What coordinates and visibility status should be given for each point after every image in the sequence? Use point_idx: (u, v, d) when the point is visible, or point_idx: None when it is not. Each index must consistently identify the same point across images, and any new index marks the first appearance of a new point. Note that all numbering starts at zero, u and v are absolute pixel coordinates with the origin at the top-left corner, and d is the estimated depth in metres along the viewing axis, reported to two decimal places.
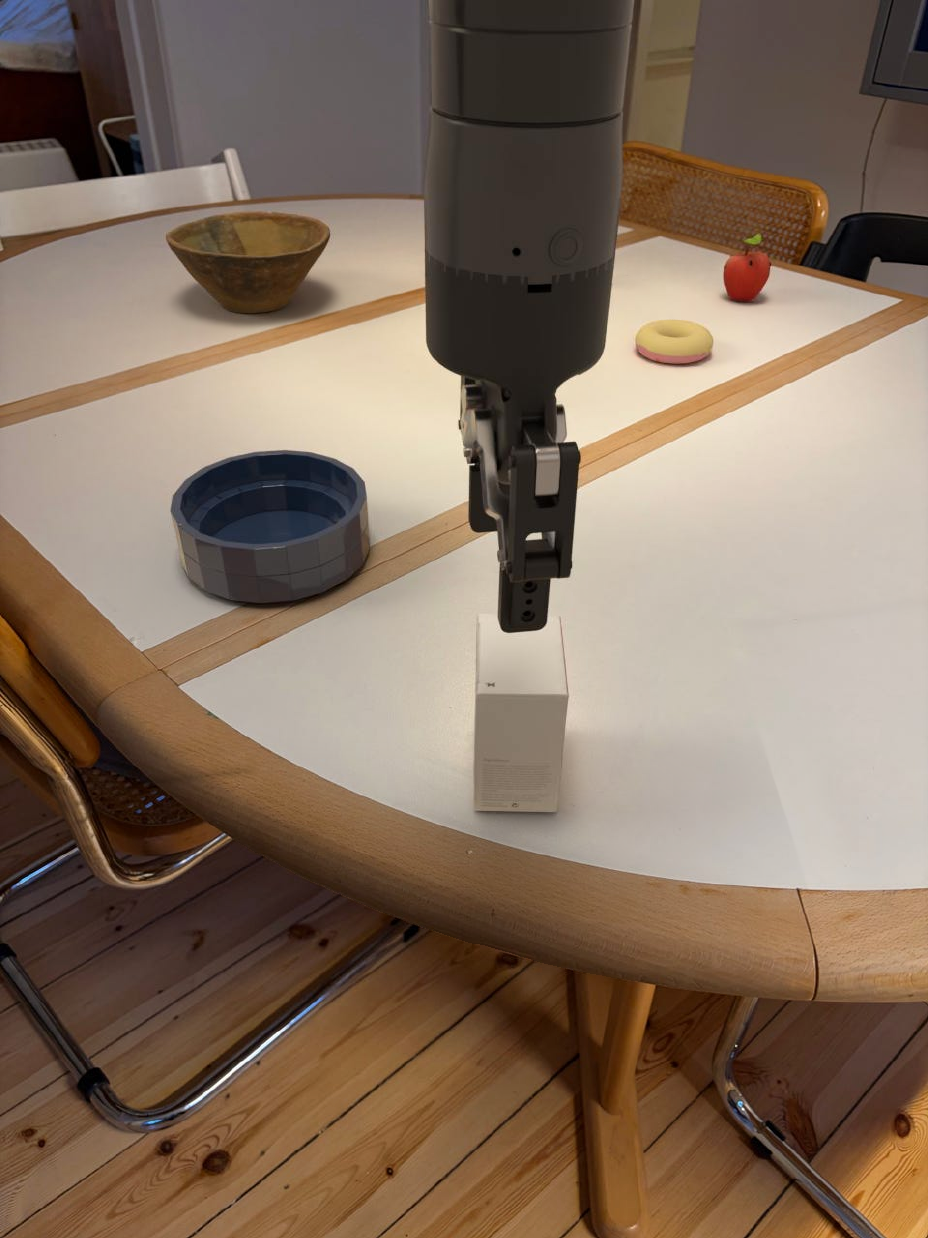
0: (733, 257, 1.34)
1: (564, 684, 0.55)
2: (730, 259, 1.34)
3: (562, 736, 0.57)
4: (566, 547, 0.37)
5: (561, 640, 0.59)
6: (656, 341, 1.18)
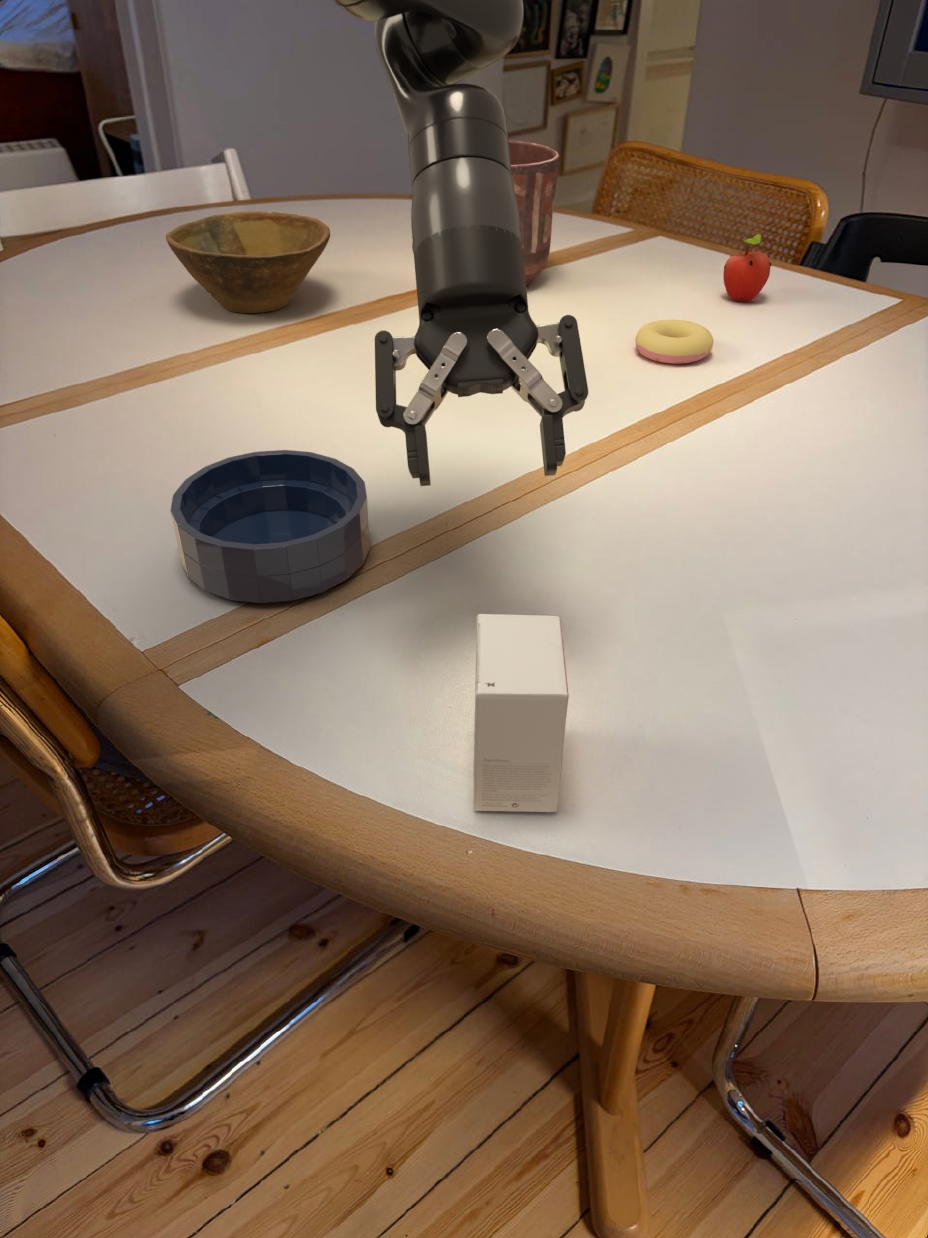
0: (733, 257, 1.34)
1: (564, 684, 0.55)
2: (730, 259, 1.34)
3: (562, 736, 0.57)
4: None
5: (561, 640, 0.59)
6: (656, 341, 1.18)
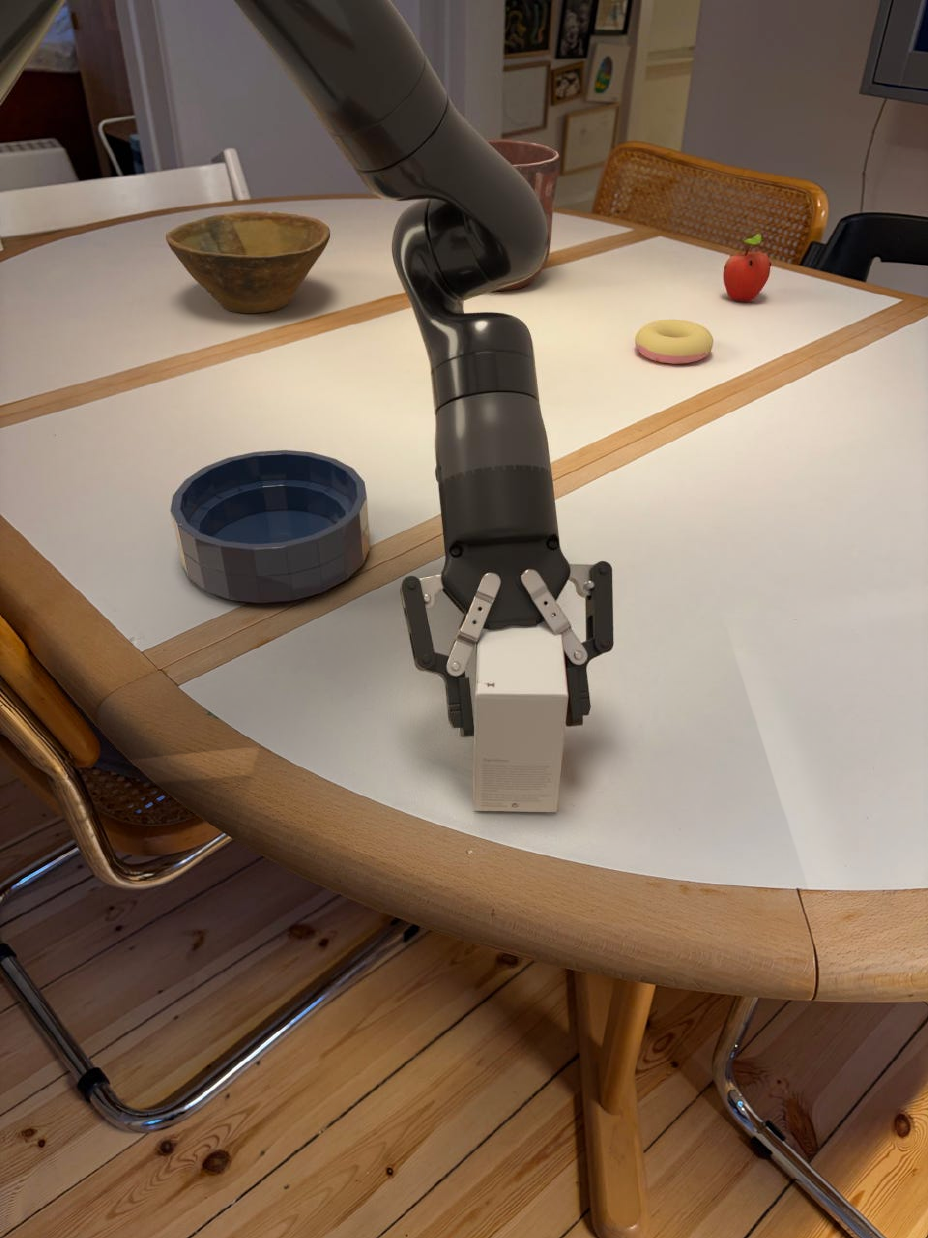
0: (733, 257, 1.34)
1: (564, 684, 0.55)
2: (730, 259, 1.34)
3: (562, 736, 0.57)
4: None
5: (561, 640, 0.59)
6: (656, 341, 1.18)
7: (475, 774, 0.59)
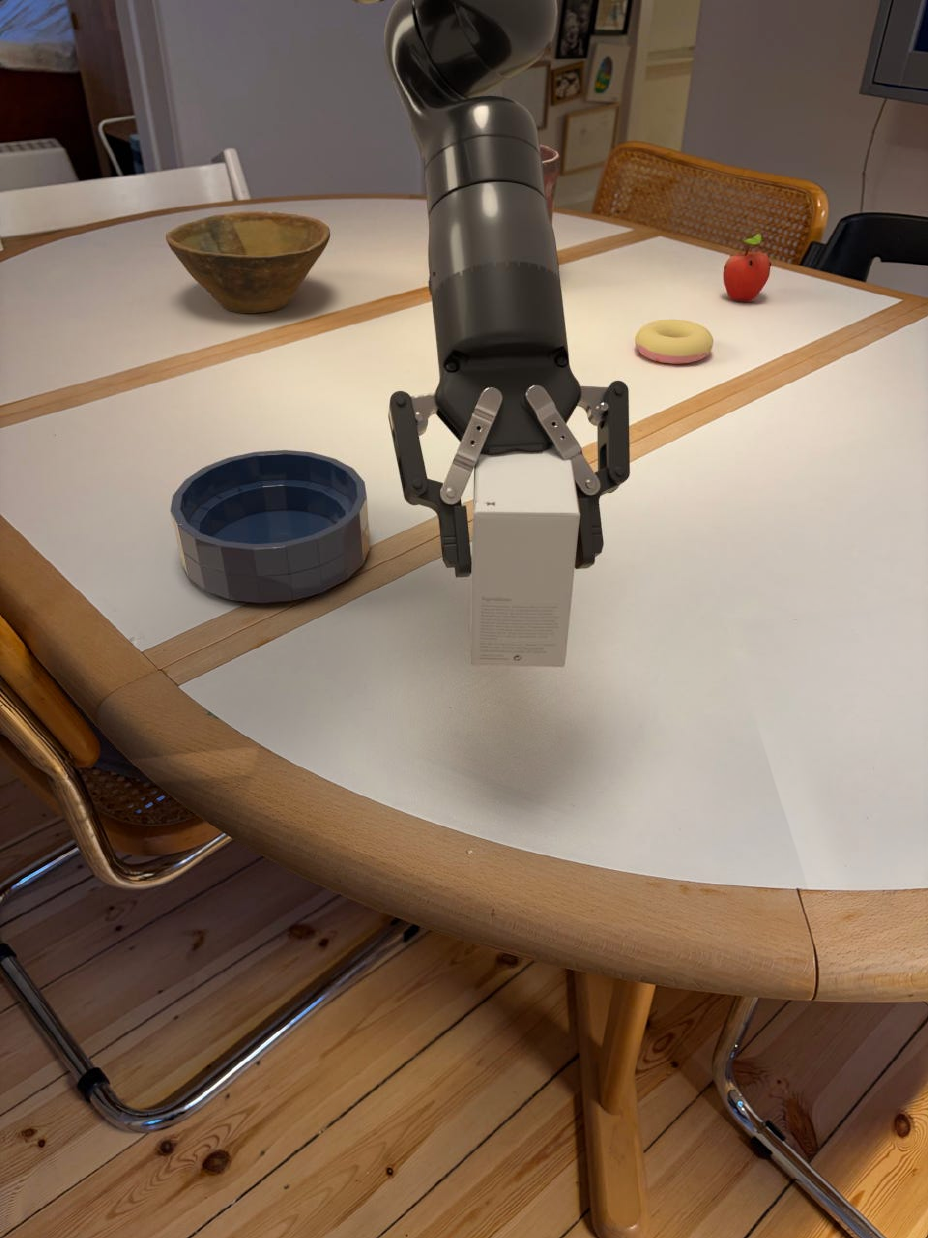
0: (733, 257, 1.34)
1: (575, 503, 0.48)
2: (730, 259, 1.34)
3: (572, 568, 0.50)
4: None
5: (571, 465, 0.52)
6: (656, 341, 1.18)
7: (472, 618, 0.52)
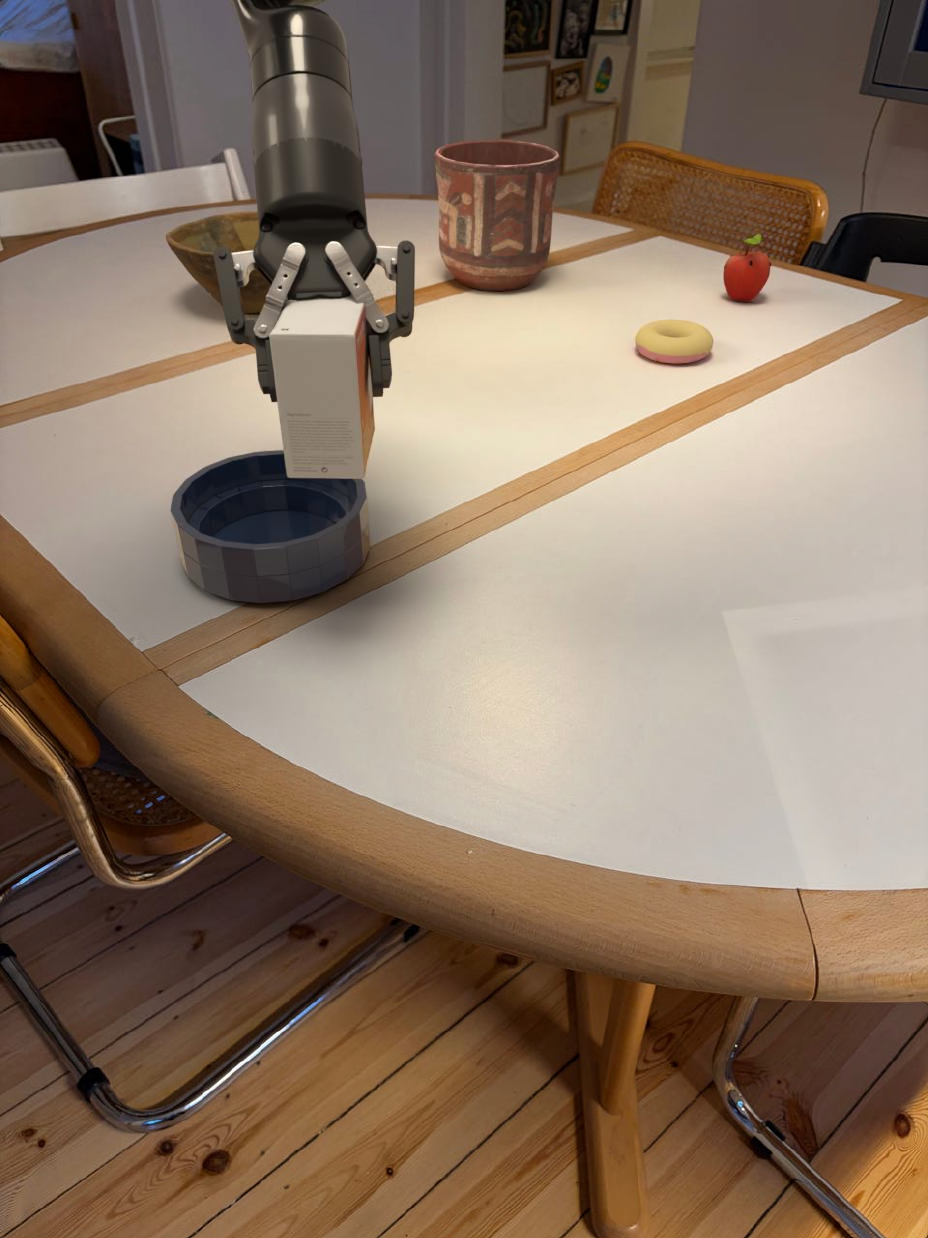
0: (733, 257, 1.34)
1: (353, 329, 0.60)
2: (730, 259, 1.34)
3: (356, 385, 0.61)
4: None
5: (362, 306, 0.63)
6: (656, 341, 1.18)
7: (282, 432, 0.63)
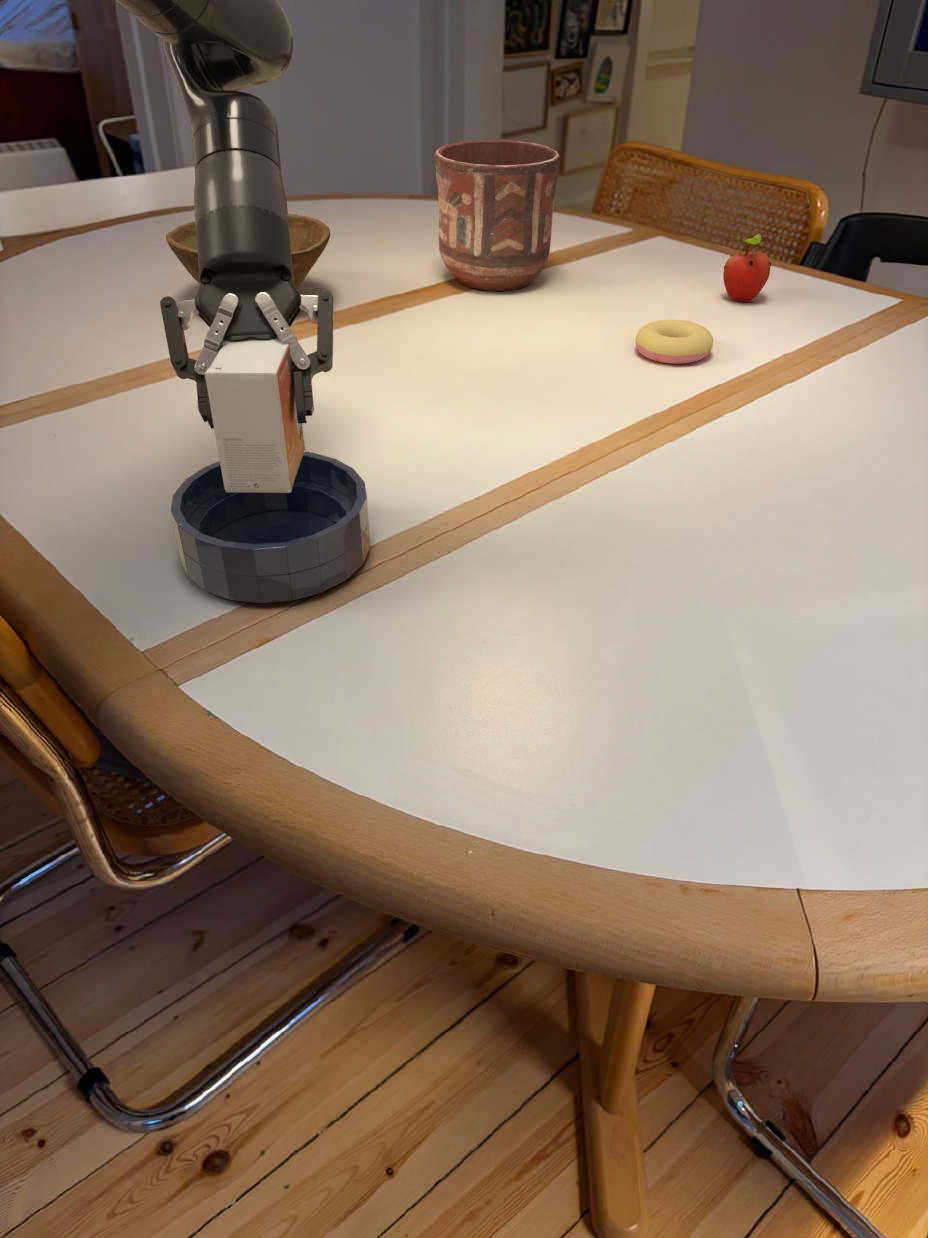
0: (733, 257, 1.34)
1: (276, 368, 0.71)
2: (730, 259, 1.34)
3: (280, 414, 0.72)
4: (332, 351, 0.77)
5: (286, 347, 0.74)
6: (656, 341, 1.18)
7: (219, 454, 0.74)
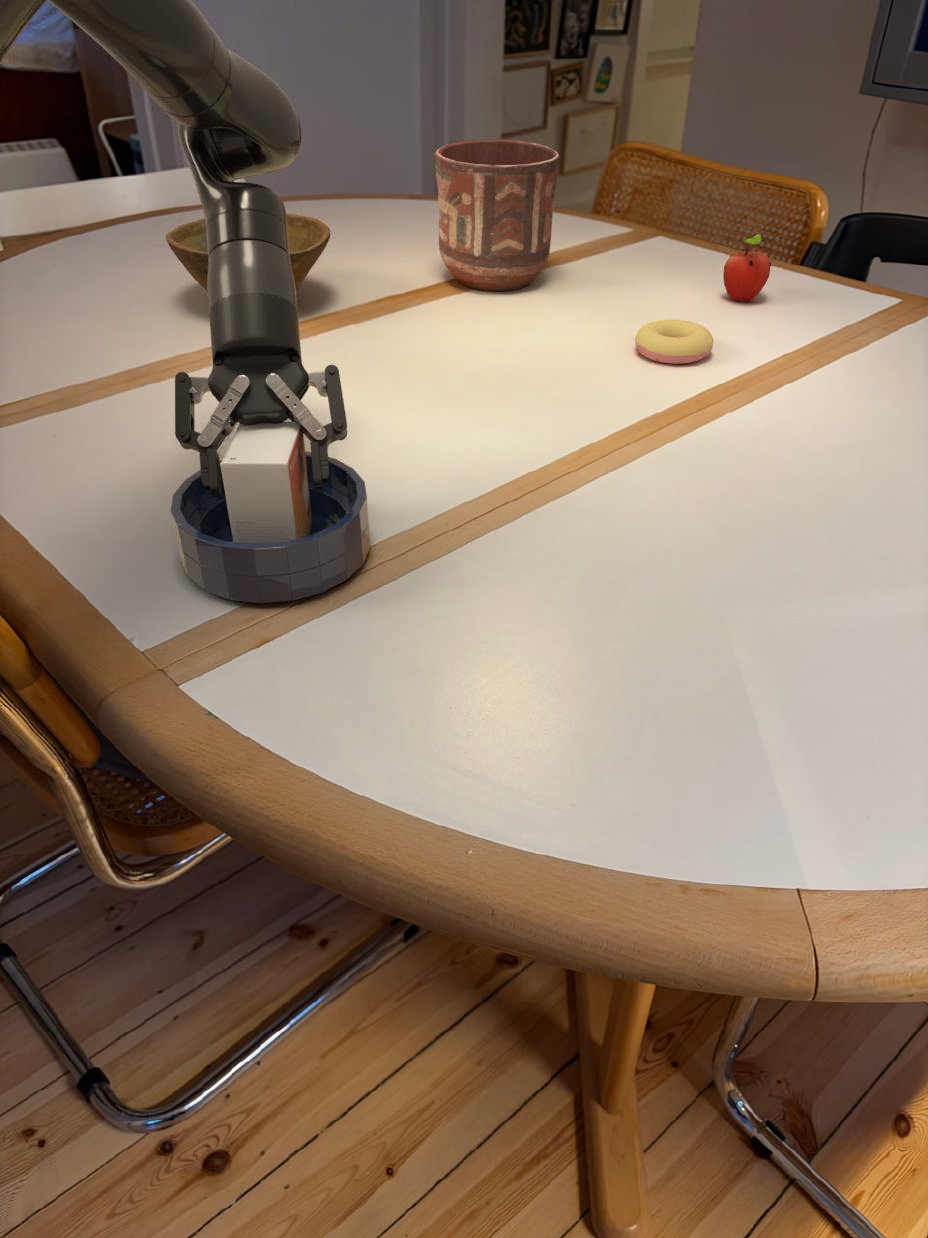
0: (733, 257, 1.34)
1: (287, 458, 0.76)
2: (730, 259, 1.34)
3: (290, 500, 0.77)
4: None
5: (296, 435, 0.79)
6: (656, 341, 1.18)
7: (233, 535, 0.79)
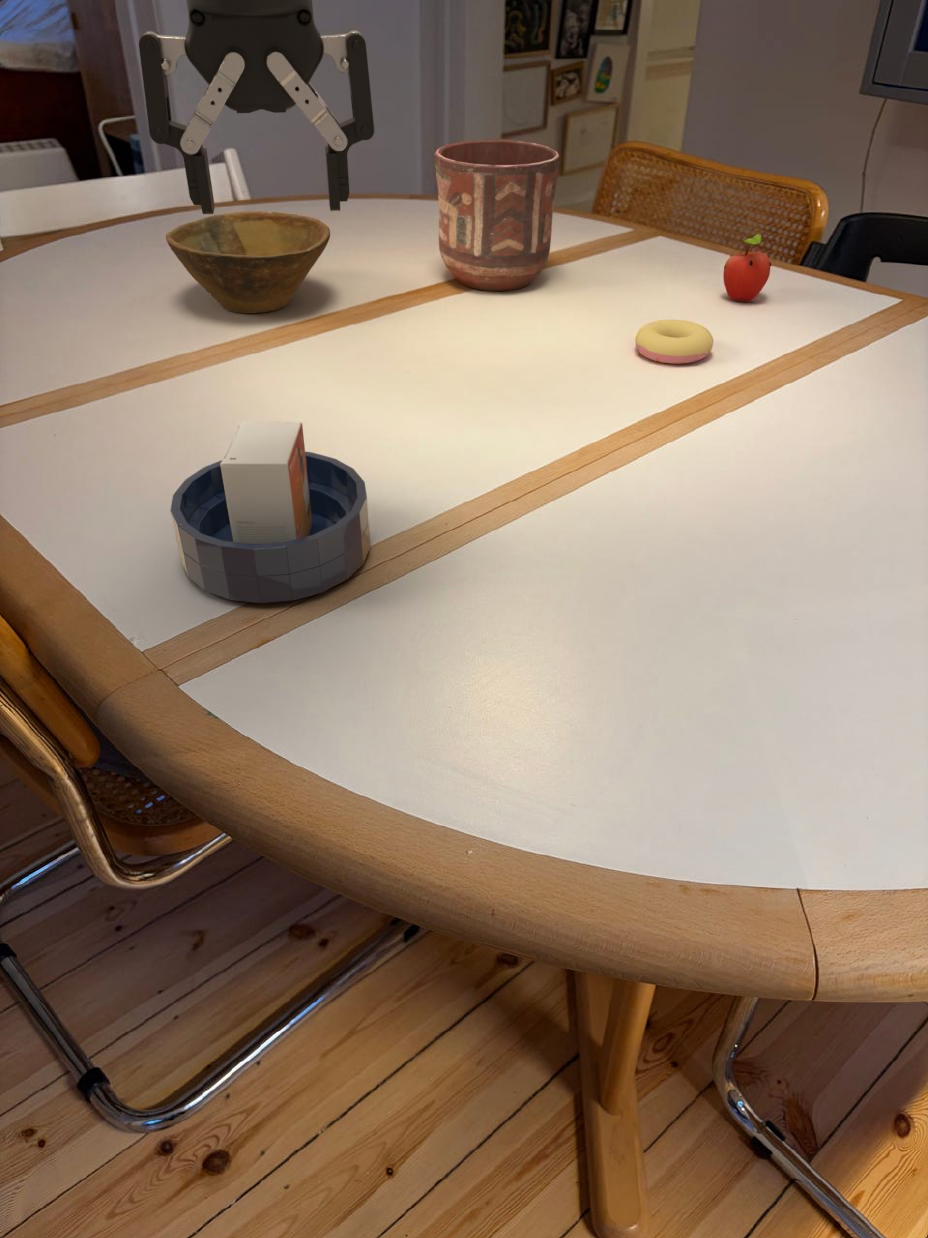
0: (733, 257, 1.34)
1: (287, 458, 0.76)
2: (730, 259, 1.34)
3: (290, 500, 0.77)
4: None
5: (296, 435, 0.79)
6: (656, 341, 1.18)
7: (233, 535, 0.79)
